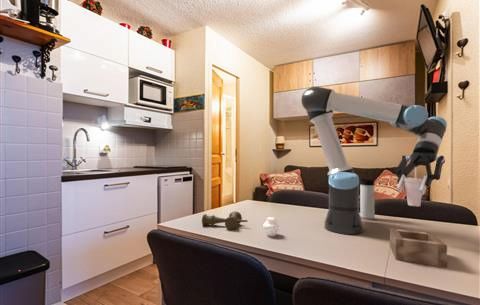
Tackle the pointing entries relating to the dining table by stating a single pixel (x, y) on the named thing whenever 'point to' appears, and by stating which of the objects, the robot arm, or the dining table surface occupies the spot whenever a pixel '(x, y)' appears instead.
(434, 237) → the brown open square box
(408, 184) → the smoothie
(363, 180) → the travel mug
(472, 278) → the dining table surface
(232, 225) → the kendama
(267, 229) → the white vase
